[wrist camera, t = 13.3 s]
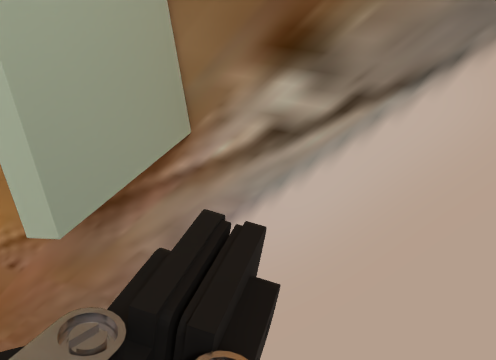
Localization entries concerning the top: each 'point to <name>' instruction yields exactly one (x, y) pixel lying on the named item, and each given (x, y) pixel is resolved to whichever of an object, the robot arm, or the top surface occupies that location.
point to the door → (84, 103)
